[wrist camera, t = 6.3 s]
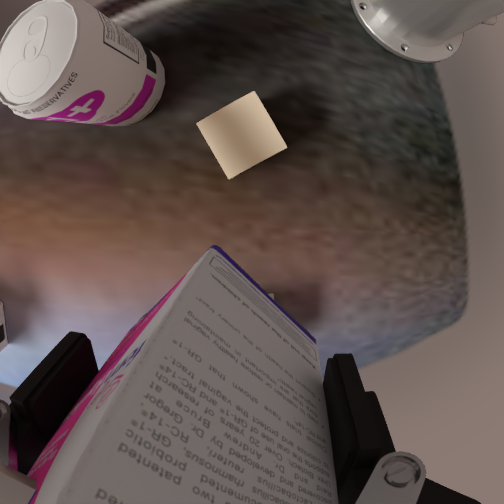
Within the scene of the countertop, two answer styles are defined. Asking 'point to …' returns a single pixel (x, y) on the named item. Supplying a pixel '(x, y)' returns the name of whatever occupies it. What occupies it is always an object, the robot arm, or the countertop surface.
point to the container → (2, 329)
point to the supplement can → (77, 67)
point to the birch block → (241, 135)
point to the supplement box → (199, 406)
